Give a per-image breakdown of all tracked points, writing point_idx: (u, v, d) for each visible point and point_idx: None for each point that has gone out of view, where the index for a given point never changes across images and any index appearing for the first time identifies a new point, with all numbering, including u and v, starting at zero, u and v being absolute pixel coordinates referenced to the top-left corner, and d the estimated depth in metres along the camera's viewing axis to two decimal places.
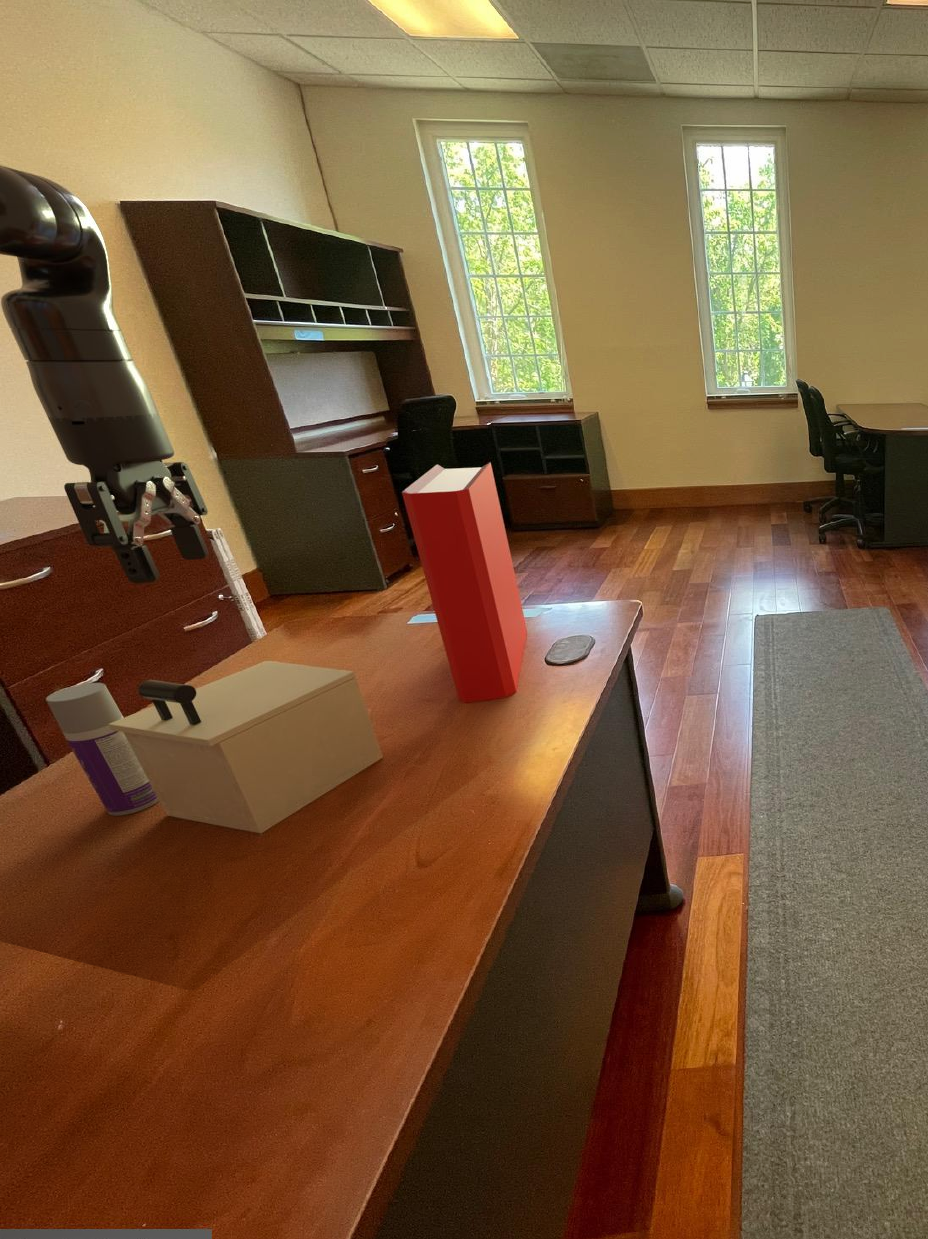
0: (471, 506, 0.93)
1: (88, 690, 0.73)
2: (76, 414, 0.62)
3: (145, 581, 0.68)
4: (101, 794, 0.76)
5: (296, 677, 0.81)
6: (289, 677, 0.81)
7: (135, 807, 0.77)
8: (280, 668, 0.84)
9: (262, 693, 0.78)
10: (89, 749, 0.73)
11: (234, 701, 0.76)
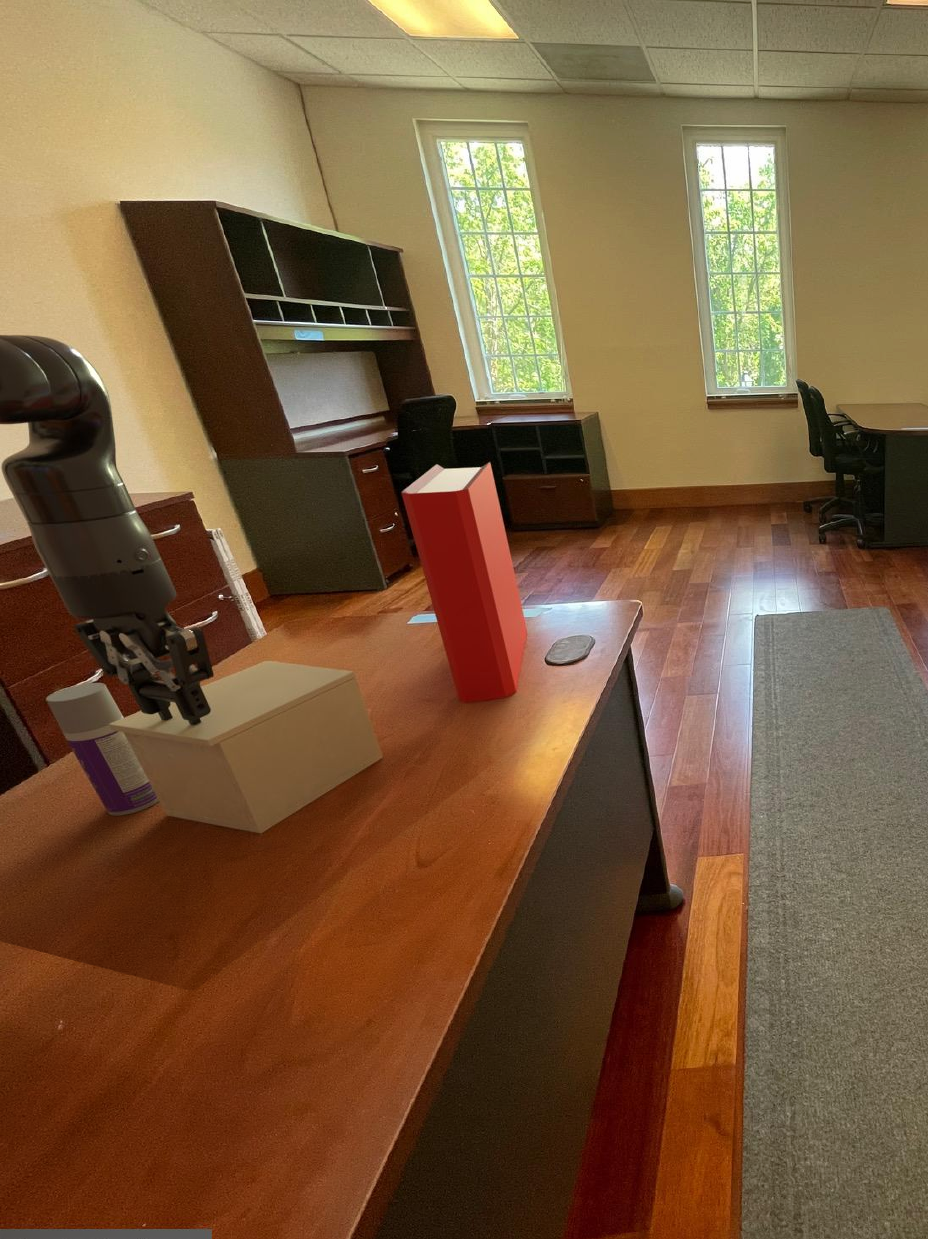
0: (471, 506, 0.93)
1: (88, 690, 0.73)
2: (136, 563, 0.64)
3: (202, 715, 0.71)
4: (101, 794, 0.76)
5: (296, 677, 0.81)
6: (289, 677, 0.81)
7: (135, 807, 0.77)
8: (280, 668, 0.84)
9: (262, 693, 0.78)
10: (89, 749, 0.73)
11: (234, 701, 0.76)
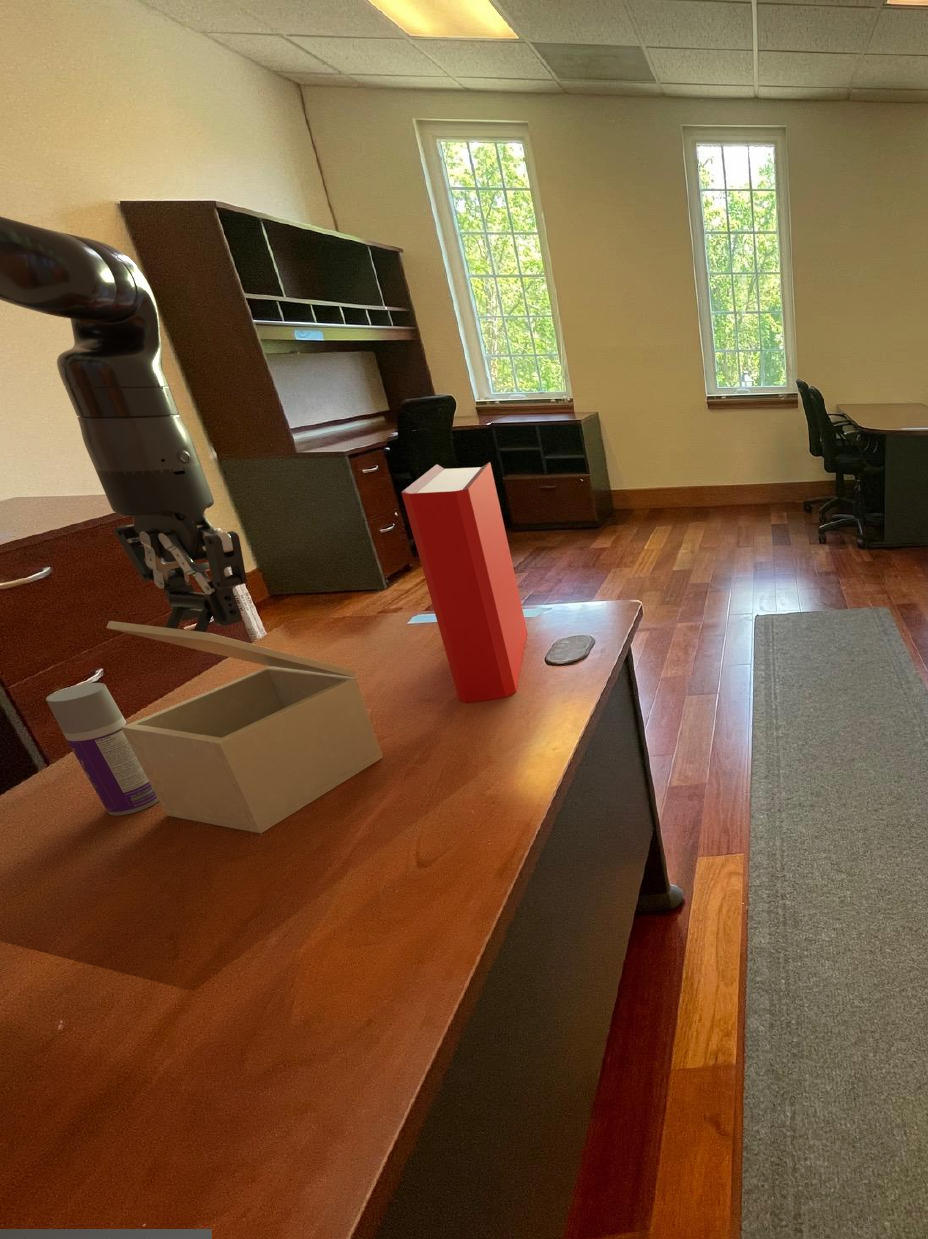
0: (471, 506, 0.93)
1: (88, 690, 0.73)
2: (179, 464, 0.66)
3: (233, 622, 0.73)
4: (101, 794, 0.76)
5: None
6: None
7: (135, 807, 0.77)
8: None
9: None
10: (89, 749, 0.73)
11: None
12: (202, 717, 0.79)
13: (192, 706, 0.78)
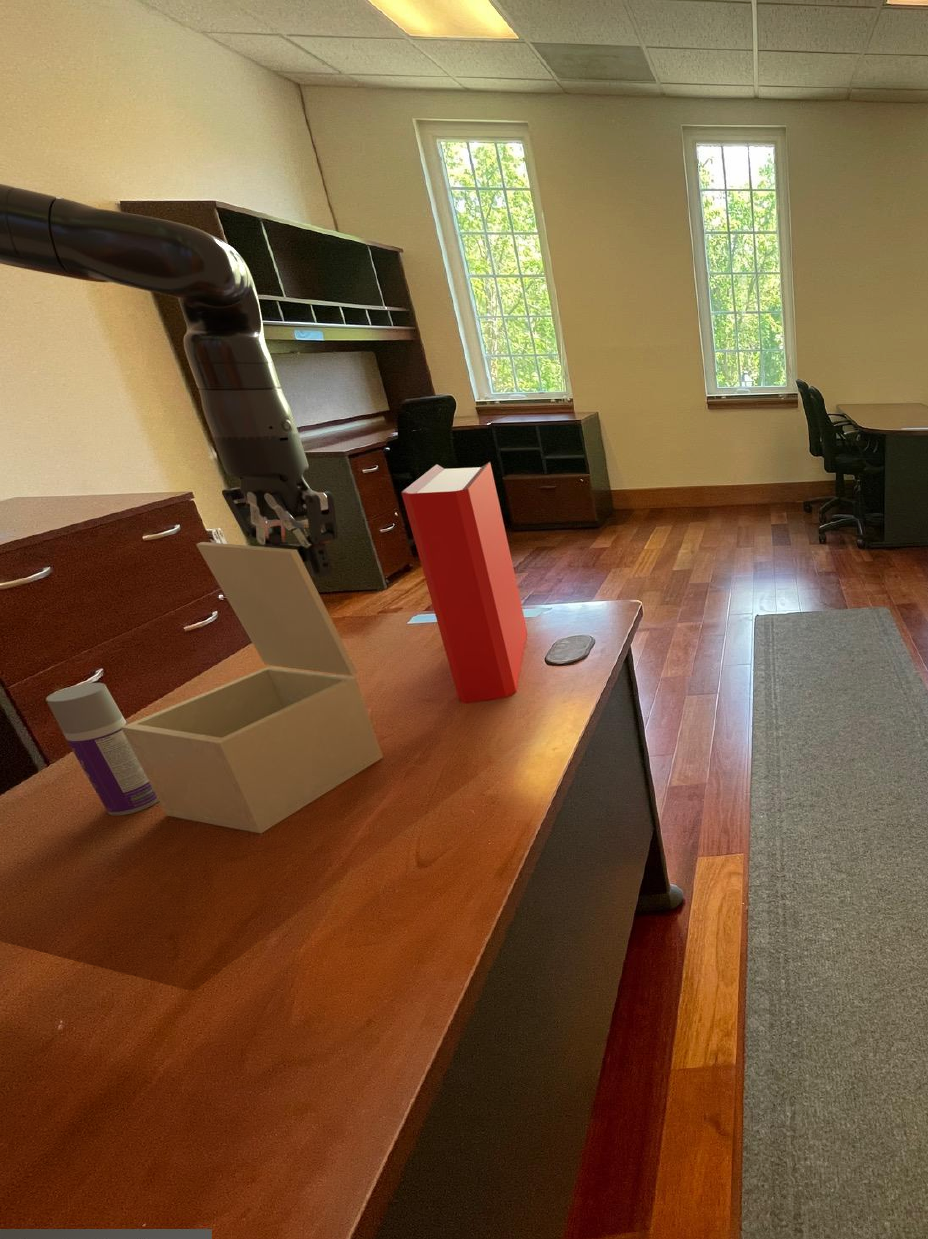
0: (471, 506, 0.93)
1: (88, 690, 0.73)
2: (283, 432, 0.75)
3: (325, 574, 0.82)
4: (101, 794, 0.76)
5: None
6: None
7: (135, 807, 0.77)
8: None
9: None
10: (89, 749, 0.73)
11: None
12: (202, 717, 0.79)
13: (192, 706, 0.78)
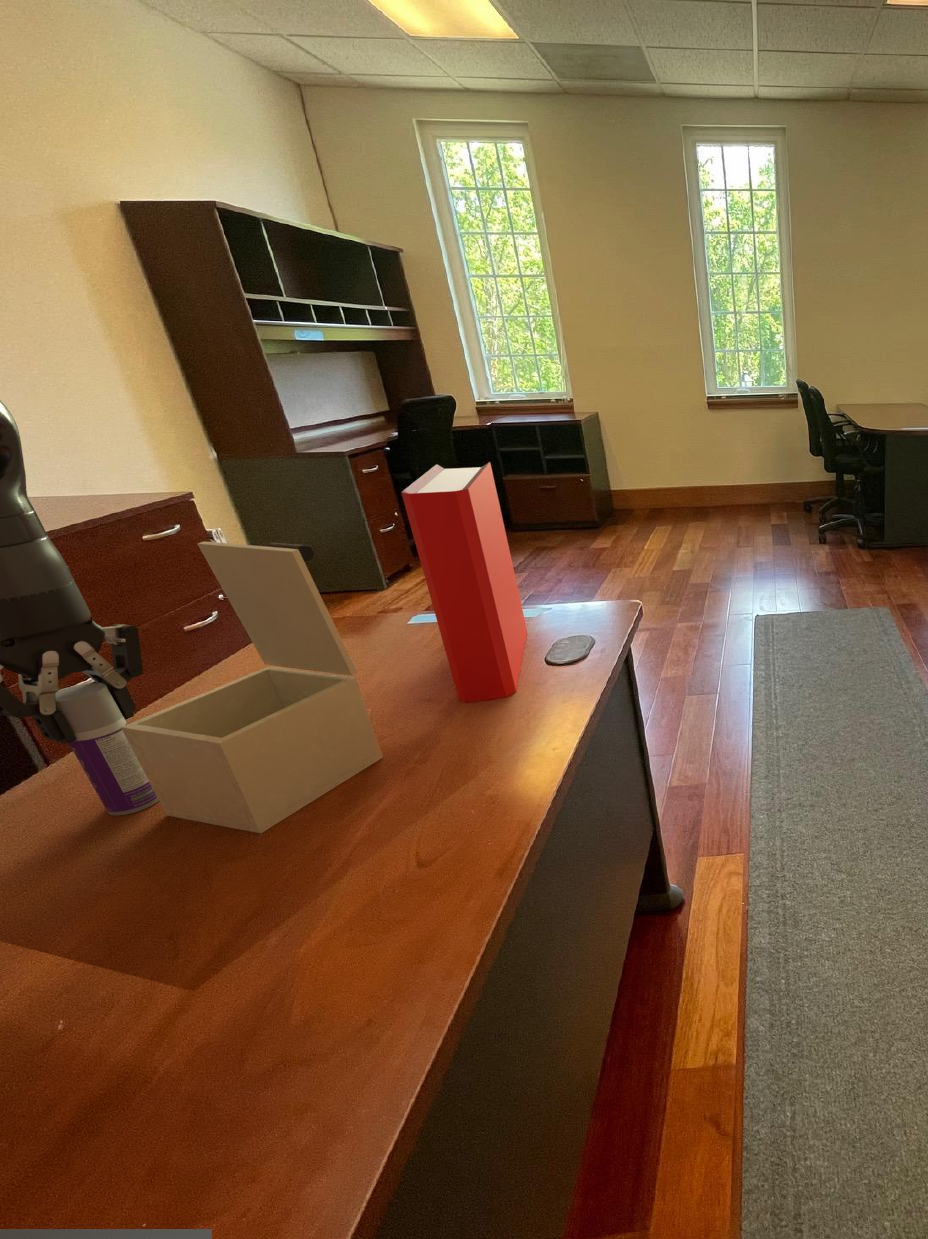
0: (471, 506, 0.93)
1: (88, 690, 0.73)
2: None
3: (62, 741, 0.72)
4: (101, 794, 0.76)
5: None
6: None
7: (135, 807, 0.77)
8: None
9: None
10: (89, 749, 0.73)
11: None
12: (202, 717, 0.79)
13: (192, 706, 0.78)
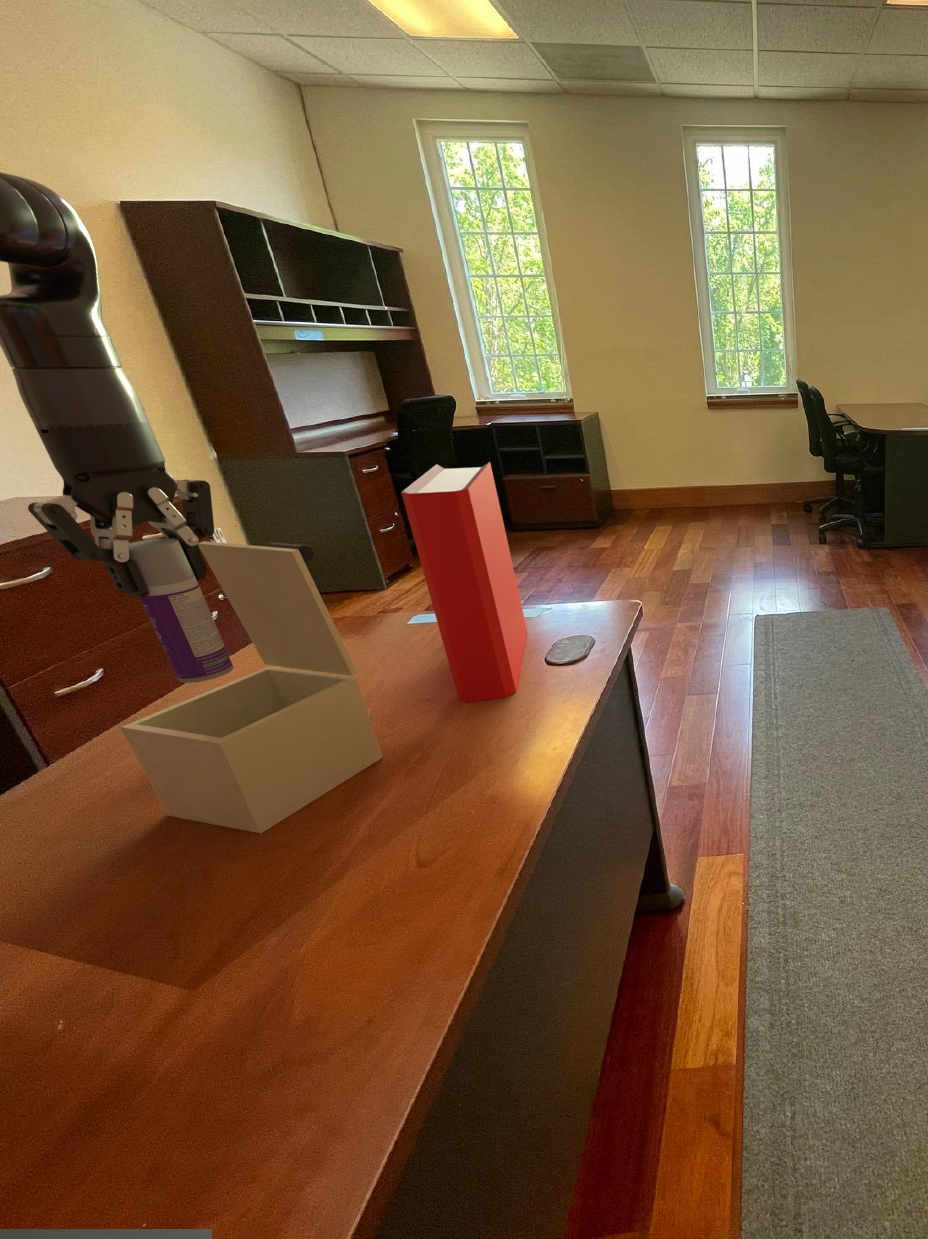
0: (471, 506, 0.93)
1: (161, 543, 0.69)
2: (41, 422, 0.60)
3: (135, 595, 0.68)
4: (172, 658, 0.71)
5: None
6: None
7: (207, 675, 0.73)
8: None
9: None
10: (161, 606, 0.69)
11: None
12: (202, 717, 0.79)
13: (192, 706, 0.78)
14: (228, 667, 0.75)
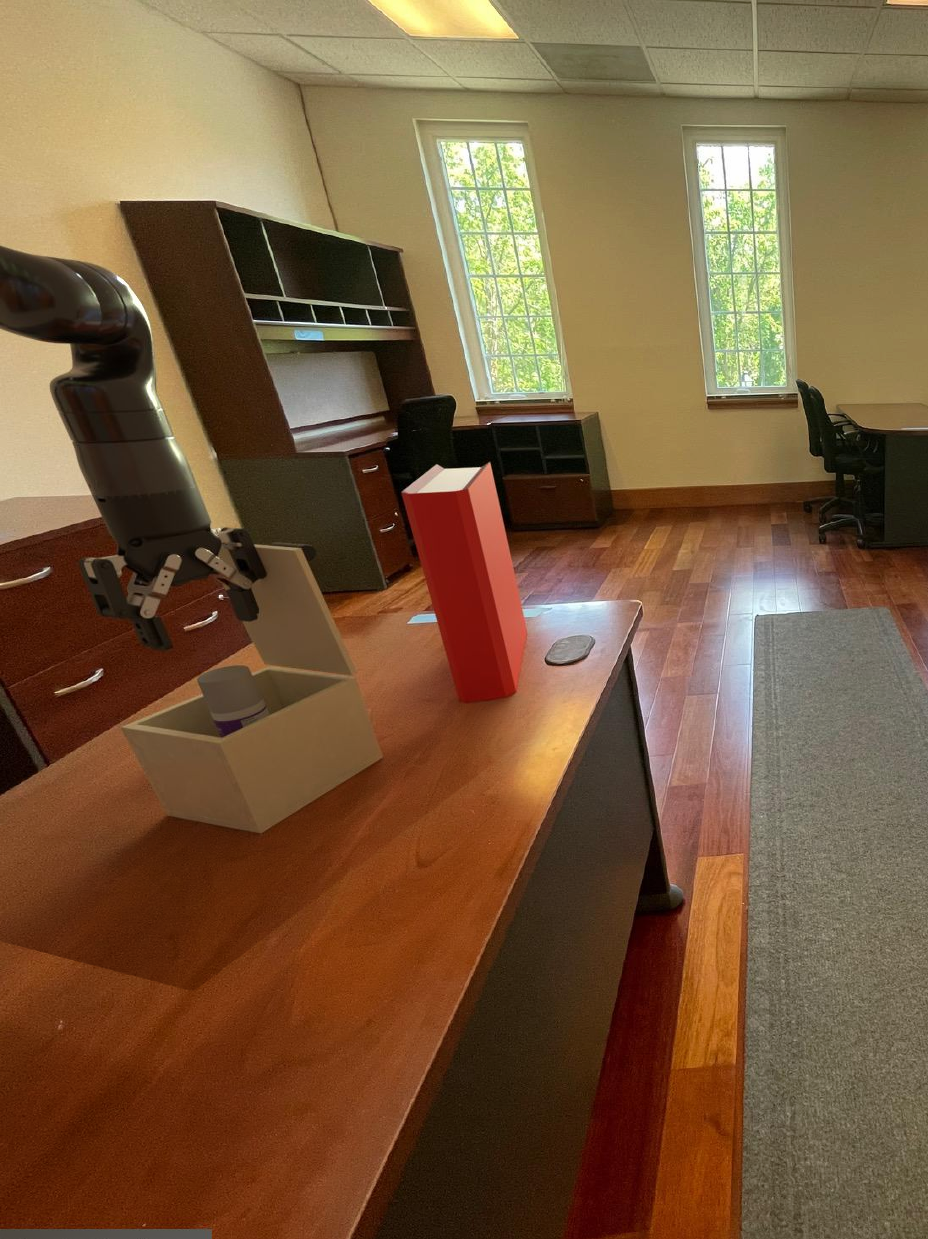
0: (471, 506, 0.93)
1: (234, 672, 0.75)
2: (99, 492, 0.63)
3: (159, 649, 0.69)
4: None
5: None
6: None
7: None
8: None
9: None
10: (234, 729, 0.76)
11: None
12: (202, 717, 0.79)
13: (192, 706, 0.78)
14: None
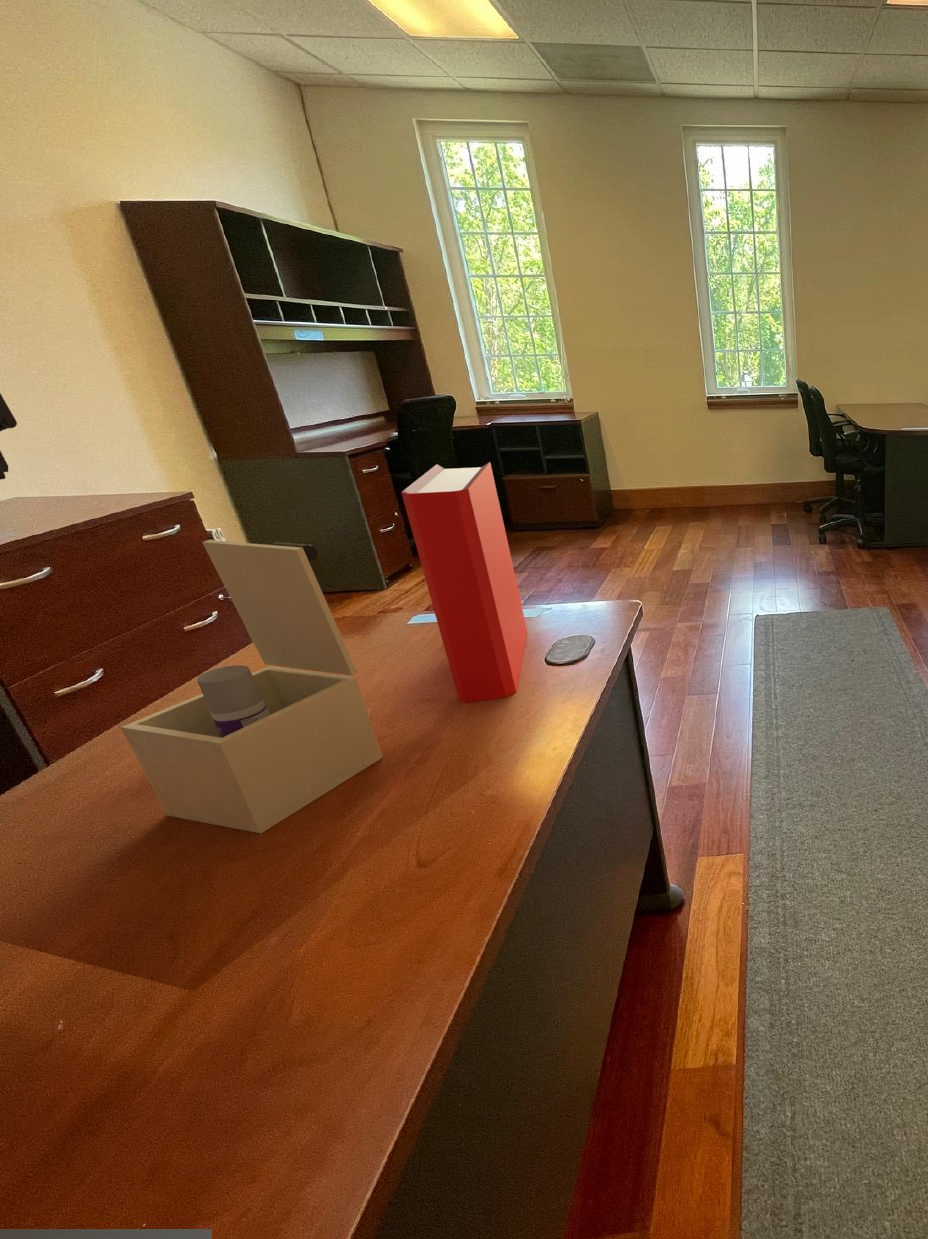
0: (471, 506, 0.93)
1: (234, 672, 0.75)
2: None
3: None
4: None
5: None
6: None
7: None
8: None
9: None
10: (234, 729, 0.76)
11: None
12: (202, 717, 0.79)
13: (192, 706, 0.78)
14: None
